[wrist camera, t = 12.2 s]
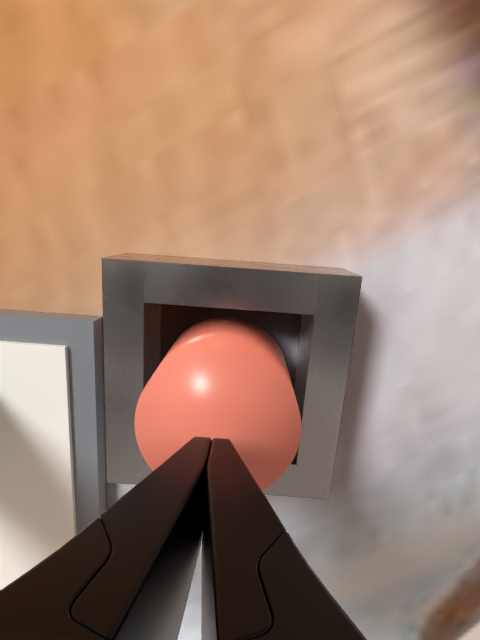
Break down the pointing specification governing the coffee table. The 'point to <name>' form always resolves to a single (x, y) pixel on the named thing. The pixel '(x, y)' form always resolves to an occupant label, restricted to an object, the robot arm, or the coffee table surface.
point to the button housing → (231, 293)
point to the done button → (222, 398)
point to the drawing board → (49, 434)
